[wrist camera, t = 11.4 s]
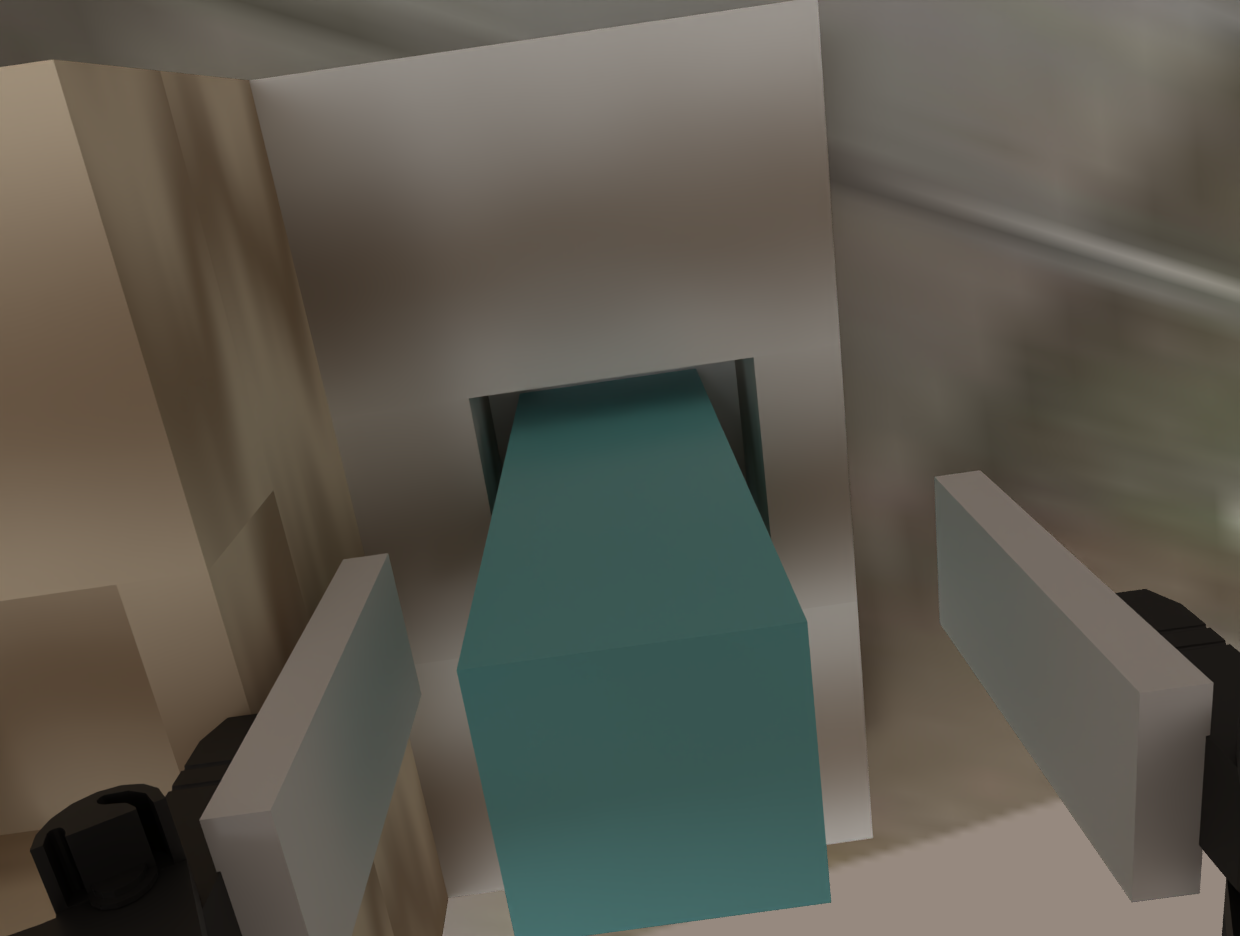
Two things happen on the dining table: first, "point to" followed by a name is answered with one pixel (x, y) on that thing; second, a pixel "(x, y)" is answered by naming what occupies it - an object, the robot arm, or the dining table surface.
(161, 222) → the socket block
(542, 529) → the plug
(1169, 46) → the dining table surface
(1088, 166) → the dining table surface
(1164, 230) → the dining table surface
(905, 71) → the dining table surface
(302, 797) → the robot arm
